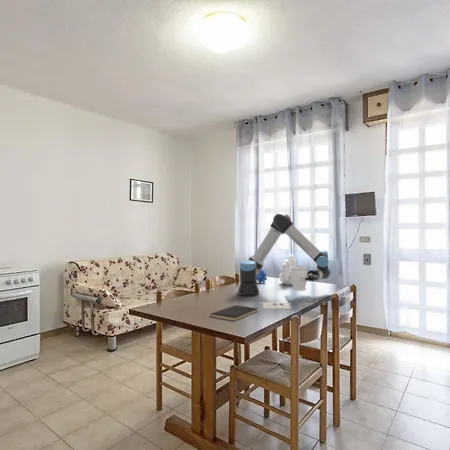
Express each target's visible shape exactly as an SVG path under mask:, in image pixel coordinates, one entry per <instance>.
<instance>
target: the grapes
mask: <svg viewBox="0 0 450 450" xmlns="http://www.w3.org/2000/svg"><path fill="white" fill-rule="evenodd" d="M267 280H268V277H267V273H265V271H264V270H263V269H261V270H260V273H259V274H258V275H256V282H258V283H259V284H261V283H263V284H264V283H265V282H266V281H267Z"/></svg>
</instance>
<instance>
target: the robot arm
mask: <svg viewBox="0 0 450 450" xmlns="http://www.w3.org/2000/svg"><path fill="white" fill-rule="evenodd" d="M269 226H270V229H269V231H268V232H267V234H266V236H265V237H264V238H263V240H262V242H261V243H260V245H259V247H258V248H257V249H256V251H255V252H254V254H253V255H251V256H250V257H249V259H248V260H242V261H241V262H240V263H239V282H240V283H239V286H238V290H237V295H238V296H240V297H241V296H242V297H257V296H259V295H260V290H259V287H258V284H257V282H258V281H257V280H256V275H258V274H259V273H260V270H262V269H263V267H264V266H265V263H264V261H266V258H267V257H268V255H269V254H270V252H271V251H272V249H273V248H274V246H275V244H276V243H277V242H278V240H279V239H280V237H281V236H282V235H284V234H286V235H287V236H288V238H290V239H291V240H292V241H293V242H294V243H295V244H296V245H297V246H298V247H299V248H300V249H301V250H302V251H303V252H304V253H305V254H306V255H308V257H310V258H311V260H313V262H314V263H316V268H314V269H311V270H309V271H307V276H306V277H301V282H304V281H307V282H308V281H311V282H315V281H317V282H318V281H320V280H325V279H328V278H330V277H331V275H332V271H331V270H330V268H329V263H330V262H329V258H328V257H329V254H328V251H322V250H320V249H318V247H316V246H315V245H314V243H312V242H311V241H310V240H309V239H308V238H307V237H306V236H305V235H304V234H303V233H302V232H301V231H300V230H298V228H297V227H296V226H295V224H294V222H292V219H291V217H290V215H289V214H287V213H285V212H278V213H276V214H275V215H274V216H273V219H272V222H271V224H270V225H269ZM288 280H291V275H290V276H288Z"/></svg>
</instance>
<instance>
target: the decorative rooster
mask: <svg viewBox="0 0 450 450" xmlns="http://www.w3.org/2000/svg"><path fill="white" fill-rule="evenodd" d="M293 266H297V259H296V258H295V255H294V254H292V253H290V254H289V255H288V256H287V259H283V263H282V264H281V271H280V273H279V275H278V276H279V281H280V282H281V284H284V285H288V286H293V285H292V282H291V280H288V276H290V275H291V267H293Z"/></svg>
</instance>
